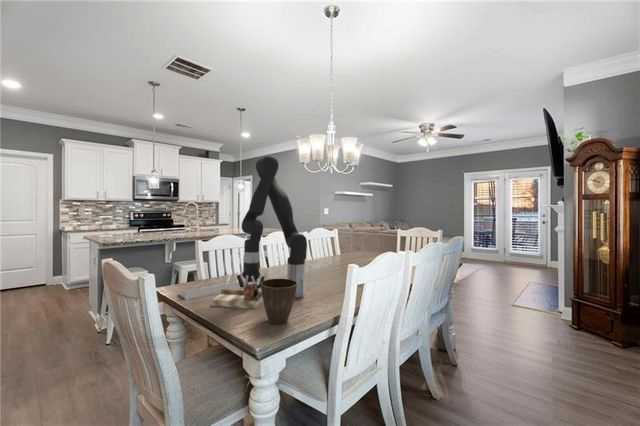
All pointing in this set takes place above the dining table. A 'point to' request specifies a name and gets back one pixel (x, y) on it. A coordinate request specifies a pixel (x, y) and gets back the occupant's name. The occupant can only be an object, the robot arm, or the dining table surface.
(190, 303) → the dining table surface
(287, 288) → the plant pot
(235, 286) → the decorative molding
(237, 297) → the board
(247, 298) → the reddish-brown block with stick
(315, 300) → the dining table surface
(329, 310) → the dining table surface
